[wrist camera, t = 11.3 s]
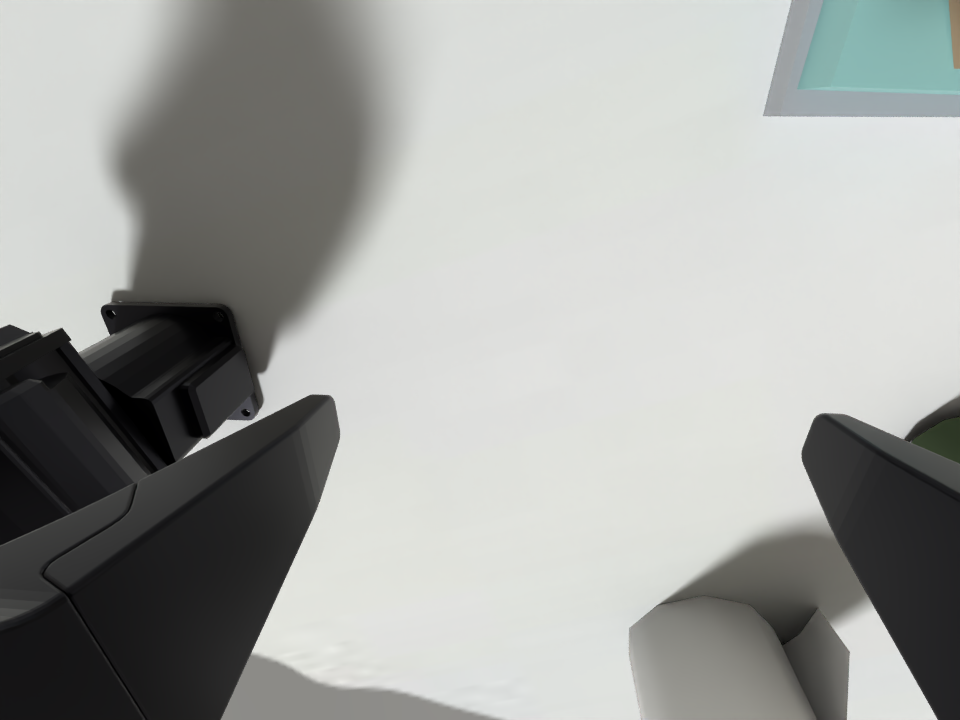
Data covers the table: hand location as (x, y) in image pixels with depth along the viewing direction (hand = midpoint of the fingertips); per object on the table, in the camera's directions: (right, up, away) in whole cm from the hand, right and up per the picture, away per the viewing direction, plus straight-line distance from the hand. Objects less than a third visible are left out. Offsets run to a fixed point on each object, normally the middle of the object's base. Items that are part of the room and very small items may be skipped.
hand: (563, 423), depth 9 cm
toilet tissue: (+14, -17, +23) cm, 32 cm away
